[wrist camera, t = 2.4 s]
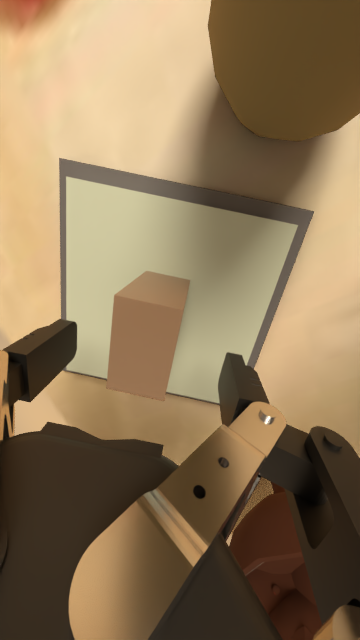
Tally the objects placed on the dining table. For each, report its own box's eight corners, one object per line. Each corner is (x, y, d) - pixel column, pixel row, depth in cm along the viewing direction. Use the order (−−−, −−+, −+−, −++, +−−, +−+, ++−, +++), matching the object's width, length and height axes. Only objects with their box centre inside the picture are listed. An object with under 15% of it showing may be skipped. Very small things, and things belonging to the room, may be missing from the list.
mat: (62, 159, 14) (59, 158, 14) (311, 211, 14) (314, 211, 14) (64, 367, 21) (61, 370, 20) (237, 405, 20) (238, 408, 20)
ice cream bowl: (224, 492, 25) (251, 823, 11) (211, 414, 21) (230, 775, 7) (328, 491, 23) (510, 873, 10) (335, 406, 19) (665, 847, 6)
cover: (74, 179, 14) (-30, 139, 8) (291, 225, 14) (366, 222, 8) (72, 363, 20) (9, 428, 13) (230, 397, 20) (244, 481, 13)
